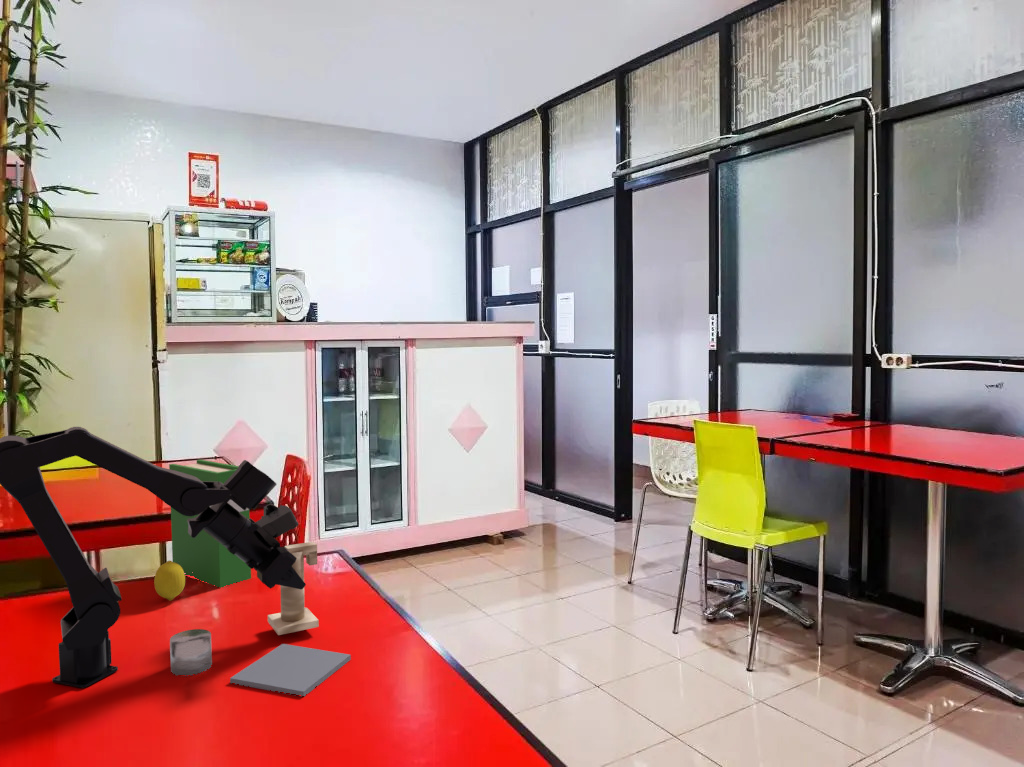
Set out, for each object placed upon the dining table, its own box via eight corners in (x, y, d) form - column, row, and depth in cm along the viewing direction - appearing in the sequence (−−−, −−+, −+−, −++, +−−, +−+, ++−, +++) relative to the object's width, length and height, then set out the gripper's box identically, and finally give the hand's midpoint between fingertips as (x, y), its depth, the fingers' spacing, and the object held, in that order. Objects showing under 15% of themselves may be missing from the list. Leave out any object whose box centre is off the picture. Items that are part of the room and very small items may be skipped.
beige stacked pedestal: (278, 635, 127) (276, 554, 126) (267, 621, 133) (266, 544, 132) (322, 625, 131) (321, 547, 130) (310, 613, 137) (309, 538, 136)
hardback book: (173, 572, 165) (169, 464, 163) (203, 563, 171) (200, 459, 169) (220, 588, 154) (216, 473, 153) (251, 578, 160) (248, 467, 159)
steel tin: (193, 678, 115) (192, 647, 114) (162, 672, 117) (160, 641, 116) (220, 662, 120) (219, 632, 120) (190, 656, 122) (189, 627, 122)
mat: (303, 696, 109) (303, 691, 109) (230, 683, 113) (230, 678, 113) (350, 659, 121) (350, 654, 121) (282, 648, 125) (282, 643, 125)
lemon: (191, 596, 150) (189, 556, 149) (176, 606, 144) (174, 565, 144) (165, 595, 150) (163, 556, 150) (149, 605, 145) (147, 564, 144)
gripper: (282, 504, 120) (349, 560, 127) (254, 483, 136) (315, 534, 143) (232, 560, 117) (303, 614, 124) (209, 532, 133) (274, 582, 139)
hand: (300, 583), depth 132 cm, fingers closed on beige stacked pedestal, 4 cm apart
